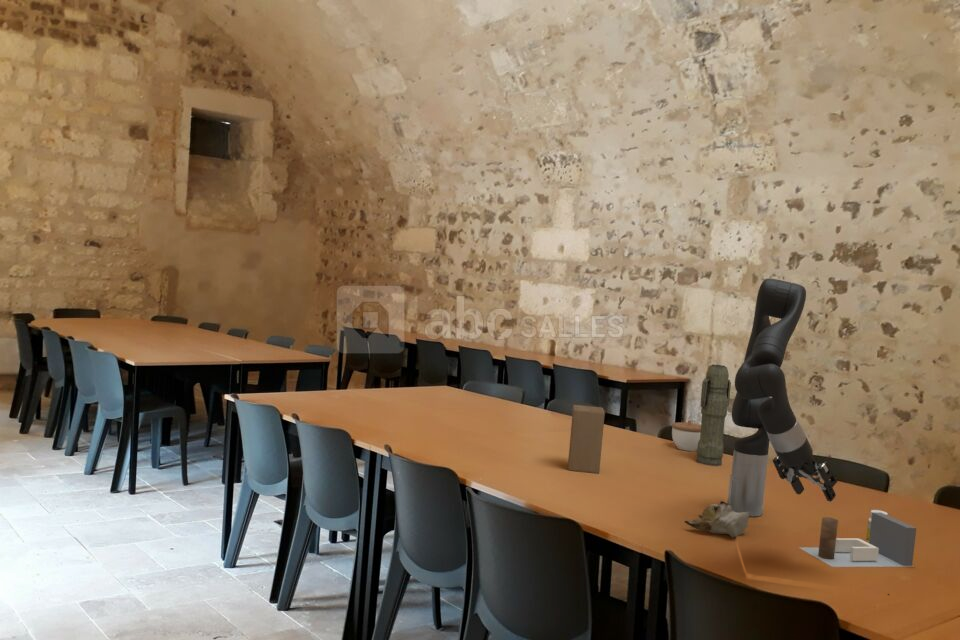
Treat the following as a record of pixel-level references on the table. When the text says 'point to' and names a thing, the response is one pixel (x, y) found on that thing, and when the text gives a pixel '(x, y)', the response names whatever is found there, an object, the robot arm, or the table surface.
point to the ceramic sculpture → (721, 520)
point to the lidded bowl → (686, 435)
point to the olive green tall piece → (713, 415)
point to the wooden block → (586, 439)
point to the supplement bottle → (870, 521)
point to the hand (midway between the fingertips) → (815, 495)
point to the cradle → (857, 549)
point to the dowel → (828, 538)
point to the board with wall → (880, 545)
